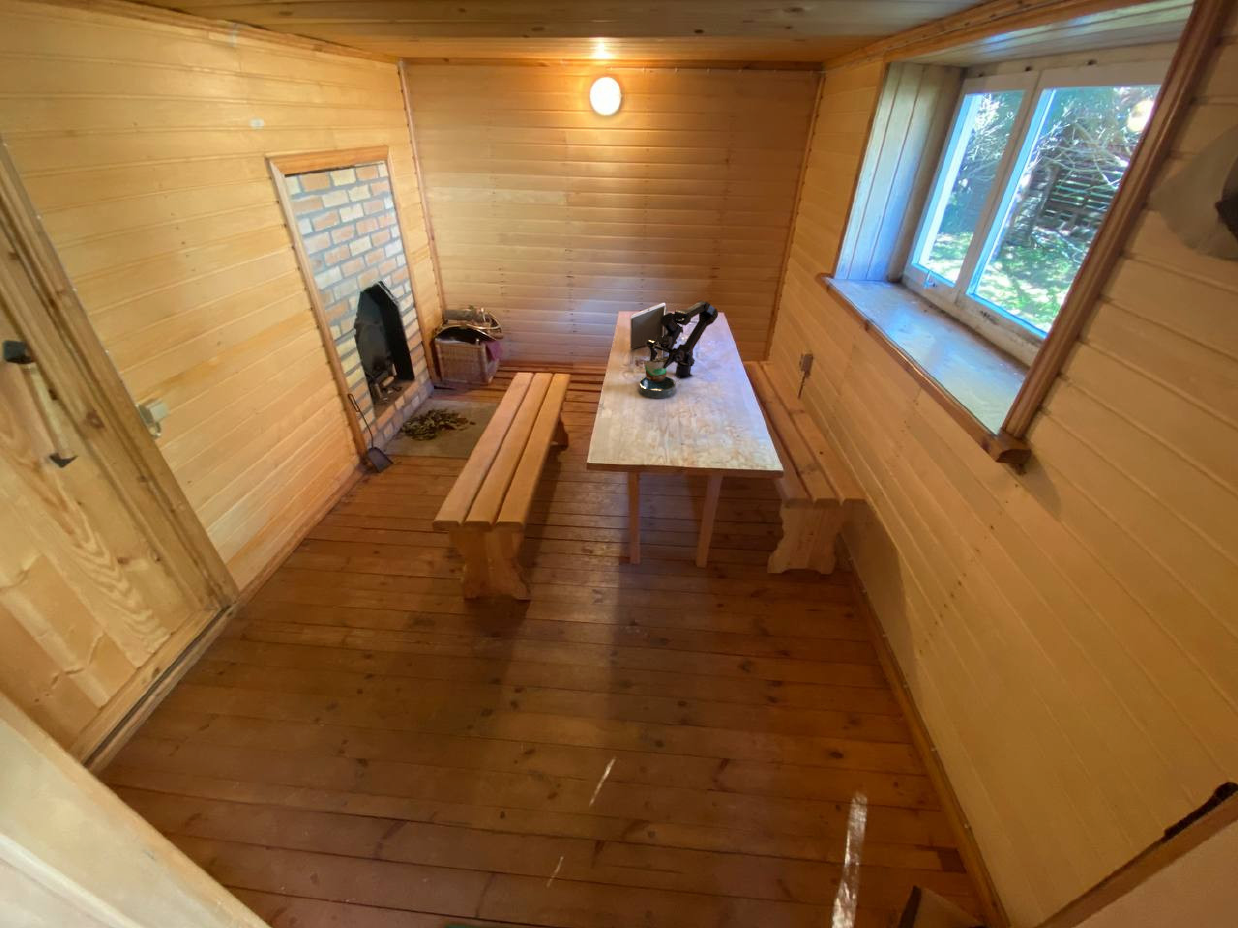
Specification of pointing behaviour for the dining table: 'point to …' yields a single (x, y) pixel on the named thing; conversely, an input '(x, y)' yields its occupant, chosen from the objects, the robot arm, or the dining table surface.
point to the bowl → (657, 387)
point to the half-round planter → (655, 369)
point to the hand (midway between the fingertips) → (656, 366)
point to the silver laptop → (647, 326)
